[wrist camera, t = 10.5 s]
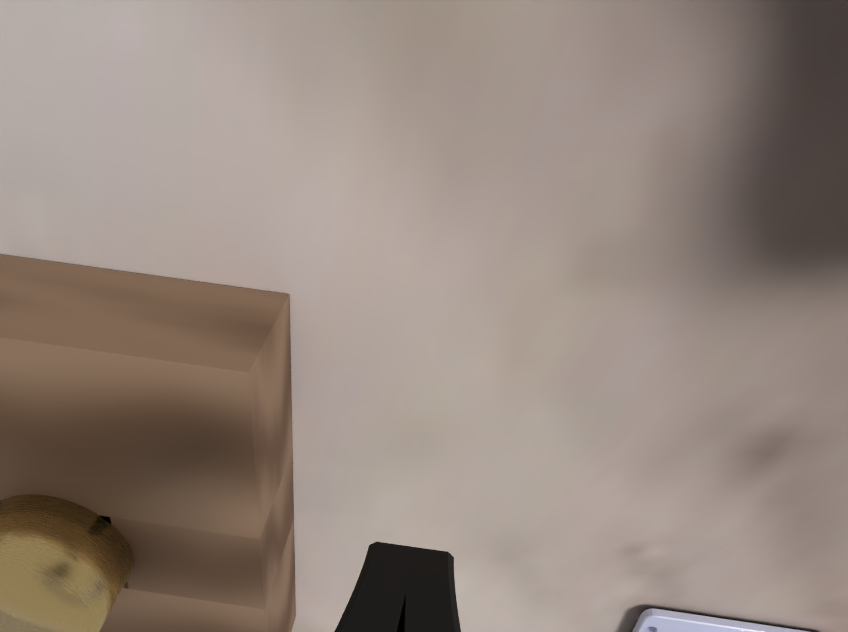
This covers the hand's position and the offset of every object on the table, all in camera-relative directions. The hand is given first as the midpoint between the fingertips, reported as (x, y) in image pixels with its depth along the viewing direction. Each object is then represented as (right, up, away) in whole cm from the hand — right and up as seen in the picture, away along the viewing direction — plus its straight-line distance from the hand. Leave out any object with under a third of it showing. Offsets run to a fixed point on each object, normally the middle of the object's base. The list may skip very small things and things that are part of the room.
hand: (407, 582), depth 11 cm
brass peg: (-12, -1, +14) cm, 19 cm away
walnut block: (-12, -1, +15) cm, 19 cm away
